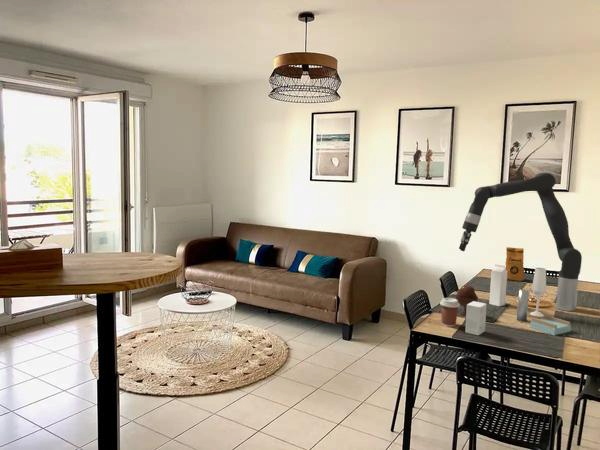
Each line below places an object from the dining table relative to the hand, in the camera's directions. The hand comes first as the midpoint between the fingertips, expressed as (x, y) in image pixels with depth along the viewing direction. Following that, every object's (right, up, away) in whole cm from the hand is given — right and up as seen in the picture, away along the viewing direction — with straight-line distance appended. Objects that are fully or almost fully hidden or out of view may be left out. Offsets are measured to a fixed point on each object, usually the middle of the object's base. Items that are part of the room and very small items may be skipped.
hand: (461, 250), depth 266 cm
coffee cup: (-18, -34, -36) cm, 53 cm away
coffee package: (+56, -24, +62) cm, 87 cm away
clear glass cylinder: (+20, -33, -28) cm, 48 cm away
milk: (+20, -30, 0) cm, 36 cm away
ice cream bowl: (-4, -32, -20) cm, 38 cm away
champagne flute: (+33, -32, -17) cm, 49 cm away
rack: (+28, -35, -41) cm, 60 cm away
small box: (-9, -35, -46) cm, 59 cm away
